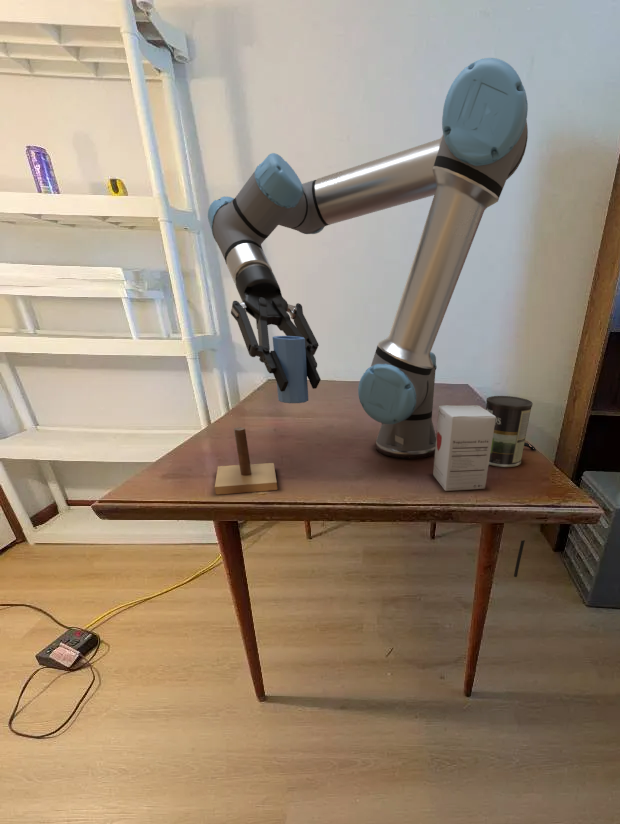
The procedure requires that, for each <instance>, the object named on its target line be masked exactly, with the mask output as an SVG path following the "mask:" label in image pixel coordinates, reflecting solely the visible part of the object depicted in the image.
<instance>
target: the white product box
mask: <svg viewBox="0 0 620 824" xmlns="http://www.w3.org/2000/svg"><path fill="white" fill-rule="evenodd" d="M437 410H438V412H437V421H436V422H437V424H436V433H435V436H436V447H435V454H434V459H433V472H432V473H433V474H432V476H433V477H434V479H436V481H437V482H438V483H439V485H440V486H441V488H442V489H443V490H444V491H445V492H449V491H451V492H453V491H469V490H471V491H472V490H485V489H486V484H487V479H488V471H489V466H490V465H489V459H490V453H491V446H492V440H493V433H494V427H495V420H496V416H494V415H493V414H491V413H490V412H488V411H487V410H486V408H483V407H482V406H480V405H479V404H475V405H474V404H473V405H453V404H452V405H449V404H448V405H447V404H445V405H444V404H443V405H438V409H437Z"/></svg>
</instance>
